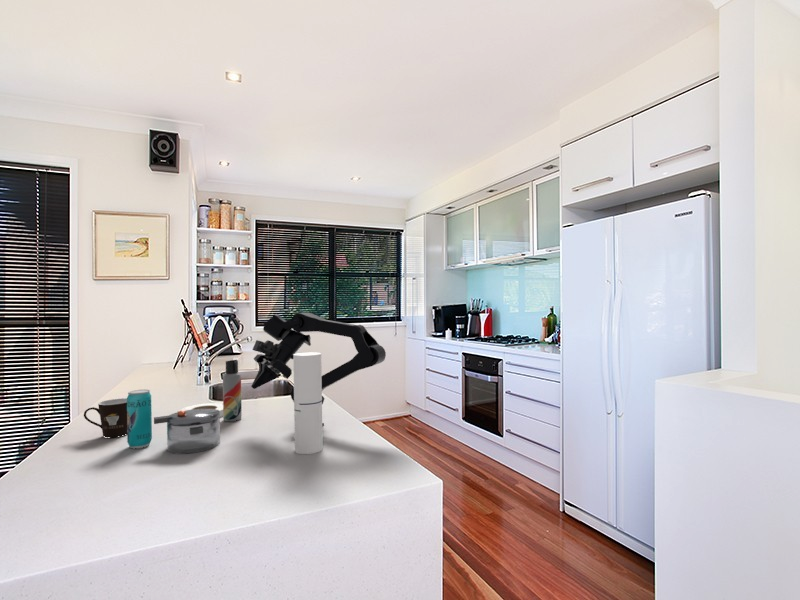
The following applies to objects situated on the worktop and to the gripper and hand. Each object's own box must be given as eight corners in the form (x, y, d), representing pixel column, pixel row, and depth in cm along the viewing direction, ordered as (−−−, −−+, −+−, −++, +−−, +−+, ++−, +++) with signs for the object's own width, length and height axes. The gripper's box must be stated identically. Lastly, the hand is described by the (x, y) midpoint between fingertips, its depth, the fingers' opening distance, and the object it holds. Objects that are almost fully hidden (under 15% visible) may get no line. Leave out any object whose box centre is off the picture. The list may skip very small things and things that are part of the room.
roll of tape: (237, 413, 154) (237, 405, 154) (197, 424, 141) (197, 415, 141) (210, 408, 163) (210, 401, 163) (170, 418, 150) (170, 410, 150)
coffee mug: (139, 431, 134) (139, 398, 134) (118, 439, 125) (118, 405, 125) (104, 430, 135) (104, 398, 135) (81, 439, 126) (81, 404, 126)
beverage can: (122, 447, 118) (122, 392, 118) (143, 441, 123) (143, 388, 123) (135, 451, 115) (134, 394, 115) (156, 444, 120) (155, 390, 120)
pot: (216, 433, 130) (215, 409, 130) (224, 450, 114) (223, 423, 114) (166, 440, 123) (166, 416, 123) (168, 459, 108) (167, 431, 108)
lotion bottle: (229, 422, 141) (228, 361, 141) (219, 420, 145) (219, 360, 145) (245, 418, 146) (244, 359, 146) (235, 416, 149) (234, 358, 149)
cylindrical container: (316, 454, 110) (314, 355, 110) (290, 453, 111) (288, 355, 111) (326, 445, 117) (325, 352, 117) (301, 444, 118) (300, 352, 118)
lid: (216, 410, 128) (216, 402, 128) (222, 420, 116) (222, 411, 116) (154, 418, 120) (153, 409, 120) (153, 430, 108) (153, 420, 108)
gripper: (259, 328, 139) (224, 366, 133) (280, 332, 124) (241, 375, 118) (283, 351, 144) (250, 389, 138) (306, 357, 129) (270, 399, 123)
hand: (252, 387), depth 129 cm, fingers closed
